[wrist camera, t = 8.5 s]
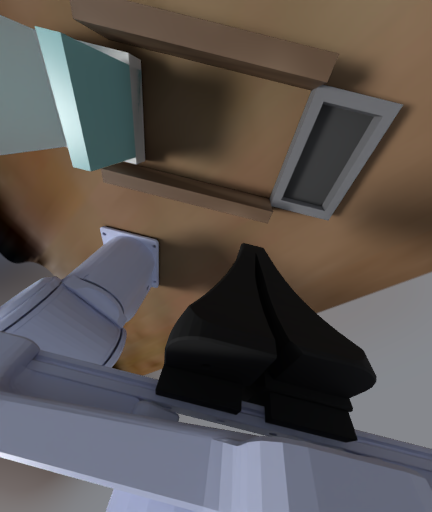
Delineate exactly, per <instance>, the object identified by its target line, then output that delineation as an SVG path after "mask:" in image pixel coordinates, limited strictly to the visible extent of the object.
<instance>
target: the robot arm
mask: <svg viewBox="0 0 432 512" xmlns="http://www.w3.org/2000/svg"><path fill="white" fill-rule="evenodd" d="M100 231H101V235H102V240H103V244H104V245H103V246H102V247H101V248H100V249H98V250H97V251H96V252H95V253H94V254H92V255H91V256H90V257H89V258H88V259H86V260H85V261H84V262H83V263H82V264H81V265H79V266H78V267H77V268H76V269H75V270H73V271H72V272H71V273H70V274H69V275H67V276H66V277H65V278H64V279H62V280H61V279H59V278H58V277H56V276H54V277H44V278H42V279H40V280H38V281H37V282H35V283H33V284H32V285H30V286H29V287H28V288H26V289H24V290H23V291H22V292H20V293H19V294H18V295H16V296H14V297H13V298H12V299H10V300H9V301H8V302H6V303H5V304H3V305H2V306H1V307H0V457H2V458H5V459H9V460H13V461H16V462H20V463H23V464H27V465H30V466H34V467H37V468H41V469H45V470H48V471H52V472H55V473H59V474H63V475H66V476H70V477H73V478H77V479H81V480H84V481H88V482H91V483H95V484H99V485H102V486H106V487H110V488H113V489H114V490H113V493H112V496H111V498H110V501H109V504H108V506H107V509H106V512H432V449H430V448H426V447H422V446H418V445H414V444H410V443H406V442H402V441H398V440H394V439H391V438H386V437H383V436H378V435H375V434H371V433H367V432H363V431H359V430H355V429H354V427H353V424H352V421H351V419H350V416H349V412H351V411H353V407H352V405H351V402H350V399H349V398H351V397H353V396H355V395H358V394H360V393H362V392H365V391H367V390H368V389H370V388H372V387H373V385H374V384H375V382H376V375H375V373H374V371H373V369H372V367H371V365H370V363H369V361H368V359H367V357H366V355H365V353H364V351H363V350H362V349H361V348H360V347H358V346H357V345H356V344H354V343H353V342H351V341H350V340H349V339H347V338H346V337H345V336H343V335H342V334H340V333H339V332H338V331H337V330H335V329H334V328H333V327H332V326H330V325H329V324H328V323H327V322H325V321H324V320H323V319H322V318H321V317H320V316H319V315H317V314H316V313H315V312H314V311H313V310H312V309H311V308H310V307H309V306H308V305H307V304H306V303H305V302H304V301H303V300H302V299H301V298H300V297H299V296H298V295H297V294H296V293H295V292H294V291H293V289H292V288H291V287H290V286H289V285H288V283H287V282H286V281H285V280H284V278H283V277H282V276H281V274H280V273H279V271H278V270H277V269H276V267H275V266H274V264H273V262H272V261H271V259H270V258H269V256H268V254H267V253H266V251H265V250H264V248H261V247H257V246H253V245H249V244H245V243H243V244H241V247H240V250H239V253H238V256H237V259H236V261H235V263H234V264H233V266H232V267H231V268H230V270H229V271H228V272H227V274H226V275H225V276H224V277H223V278H222V279H221V280H220V281H219V282H218V283H217V284H216V285H215V286H214V287H213V288H212V289H211V290H210V291H208V292H207V293H206V294H205V295H204V296H202V297H201V298H200V299H198V300H197V301H195V302H194V303H192V304H191V305H189V306H188V308H187V309H186V310H185V311H184V313H183V314H182V315H181V317H180V318H179V319H178V321H177V322H176V324H175V325H174V327H173V329H172V331H171V333H170V335H169V338H168V341H167V344H166V347H165V360H164V366H163V369H162V372H161V375H160V378H159V380H157V379H153V378H149V377H145V376H141V375H137V374H134V373H130V372H126V371H122V370H118V369H114V368H112V367H113V365H114V364H115V363H116V361H117V360H118V358H119V356H120V355H121V353H122V351H123V348H124V345H125V341H126V335H127V334H126V330H125V329H124V328H123V326H124V324H125V323H126V322H128V321H129V320H130V319H131V318H132V317H133V316H134V315H135V313H136V312H137V310H138V308H139V307H140V305H141V303H142V302H143V300H144V298H145V297H146V295H147V293H148V292H149V290H150V288H151V287H155V288H157V287H158V286H159V242H158V241H157V240H156V239H153V238H149V237H145V236H141V235H137V234H133V233H129V232H125V231H121V230H117V229H113V228H109V227H105V226H103V227H101V228H100ZM105 233H106V234H105ZM154 245H155V246H154ZM177 413H179V414H183V415H186V416H191V417H194V418H198V419H203V420H207V421H210V422H214V423H218V424H222V425H226V426H230V427H234V428H238V429H242V430H246V431H250V432H254V433H258V434H262V435H266V436H256V435H251V434H245V433H240V432H235V431H229V430H222V429H217V428H211V427H205V426H200V425H194V424H188V423H182V422H178V421H179V416H178V414H177Z"/></svg>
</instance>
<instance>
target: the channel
mask: <svg viewBox="0 0 432 512" xmlns="http://www.w3.org/2000/svg"><path fill="white" fill-rule="evenodd" d="M70 4H71V9H72V15H73V19H75V20H76V21H78V22H80V23H81V24H83V25H85V26H87V27H88V28H90V29H92V30H93V31H95V32H97V33H99V34H100V35H102V36H104V37H105V38H107V39H109V40H113V41H117V42H120V43H124V44H128V45H132V46H136V47H140V48H144V49H148V50H152V51H156V52H160V53H164V54H168V55H172V56H176V57H180V58H184V59H188V60H192V61H196V62H200V63H204V64H208V65H212V66H216V67H220V68H224V69H228V70H232V71H236V72H240V73H244V74H248V75H252V76H256V77H260V78H264V79H268V80H272V81H276V82H280V83H284V84H288V85H292V86H296V87H300V88H304V89H308V90H314V89H316V88H317V87H319V86H321V85H323V84H325V83H327V82H328V80H329V77H330V75H331V72H332V70H333V68H334V65H335V63H336V61H337V58H338V56H339V54H338V53H334V52H330V51H326V50H322V49H318V48H314V47H310V46H306V45H302V44H298V43H294V42H290V41H286V40H282V39H278V38H274V37H270V36H266V35H262V34H258V33H254V32H250V31H246V30H242V29H238V28H234V27H230V26H226V25H222V24H218V23H214V22H210V21H206V20H203V19H199V18H195V17H191V16H187V15H183V14H179V13H175V12H171V11H167V10H163V9H159V8H155V7H151V6H147V5H143V4H139V3H135V2H131V1H127V0H70ZM101 171H102V176H103V182H105V183H109V184H113V185H117V186H121V187H125V188H129V189H133V190H137V191H140V192H144V193H148V194H152V195H156V196H160V197H164V198H168V199H172V200H176V201H180V202H184V203H188V204H192V205H196V206H200V207H204V208H208V209H212V210H216V211H220V212H224V213H228V214H232V215H236V216H240V217H244V218H248V219H252V220H256V221H260V222H264V223H268V222H269V220H270V217H271V215H272V213H273V211H272V207H271V203H270V199H268V198H264V197H260V196H256V195H252V194H248V193H244V192H241V191H237V190H233V189H229V188H225V187H221V186H217V185H213V184H209V183H205V182H201V181H197V180H193V179H189V178H185V177H181V176H177V175H173V174H169V173H165V172H161V171H157V170H153V169H149V168H145V167H141V166H137V165H133V164H129V163H125V162H121V163H118V164H114V165H111V166H108V167H105V168H102V169H101Z"/></svg>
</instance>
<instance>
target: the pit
mask: <svg viewBox="0 0 432 512" xmlns="http://www.w3.org/2000/svg"><path fill="white" fill-rule="evenodd" d="M402 106H403V105H402V104H398V103H394V102H390V101H386V100H382V99H378V98H374V97H370V96H366V95H362V94H358V93H354V92H350V91H347V90H343V89H339V88H335V87H331V86H327V85H321V86H319V87H317V88H316V89H314V90H312V91H311V93H310V96H309V99H308V101H307V104H306V106H305V109H304V111H303V114H302V117H301V119H300V122H299V124H298V127H297V129H296V132H295V134H294V137H293V140H292V142H291V145H290V147H289V150H288V152H287V155H286V158H285V160H284V163H283V165H282V168H281V170H280V173H279V176H278V178H277V181H276V183H275V186H274V188H273V191H272V194H271V196H270V203H271V206H273V207H277V208H281V209H285V210H289V211H293V212H297V213H301V214H305V215H309V216H313V217H316V218H320V219H324V220H329V219H330V217H331V216H332V214H333V213H334V211H335V209H336V208H337V206H338V205H339V203H340V202H341V200H342V199H343V197H344V196H345V194H346V192H347V191H348V189H349V188H350V186H351V185H352V183H353V182H354V180H355V179H356V177H357V175H358V174H359V172H360V171H361V169H362V168H363V166H364V165H365V163H366V162H367V160H368V158H369V157H370V155H371V154H372V152H373V151H374V149H375V148H376V146H377V145H378V143H379V141H380V140H381V138H382V137H383V135H384V134H385V132H386V131H387V129H388V128H389V126H390V124H391V123H392V121H393V120H394V118H395V117H396V115H397V114H398V112H399V110H400V109H401V107H402Z"/></svg>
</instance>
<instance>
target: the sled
mask: <svg viewBox="0 0 432 512" xmlns="http://www.w3.org/2000/svg"><path fill="white" fill-rule="evenodd" d="M35 29H36V30H35ZM35 29H32V28H29V27H27V26H25V25H22V24H20V23H18V22H15V21H13V20H11V19H8V18H6V17H4V16H1V15H0V155H6V154H13V153H21V152H28V151H36V150H44V149H51V148H59V147H68V150H69V153H70V157H71V161H72V164H73V167H75V168H79V169H83V170H87V171H94V170H97V169H100V168H103V167H107V166H110V165H113V164H116V163H120V162H123V161H125V162H128V163H132V164H139V163H142V162H144V161H145V145H144V122H143V99H142V76H141V60H140V59H138V58H136V57H135V56H133V55H131V54H129V53H127V52H123V51H119V50H115V49H111V48H107V47H103V46H99V45H95V44H91V43H87V42H83V41H79V40H75V39H73V38H71V37H69V36H67V35H65V34H62V33H60V32H56V31H52V30H48V29H44V28H40V27H37V26H35Z"/></svg>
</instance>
